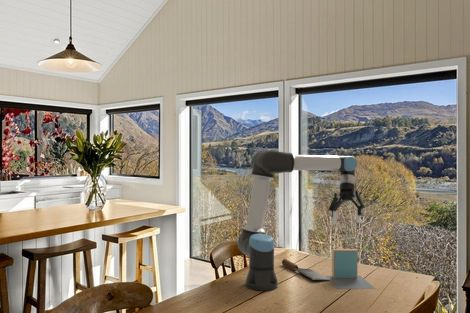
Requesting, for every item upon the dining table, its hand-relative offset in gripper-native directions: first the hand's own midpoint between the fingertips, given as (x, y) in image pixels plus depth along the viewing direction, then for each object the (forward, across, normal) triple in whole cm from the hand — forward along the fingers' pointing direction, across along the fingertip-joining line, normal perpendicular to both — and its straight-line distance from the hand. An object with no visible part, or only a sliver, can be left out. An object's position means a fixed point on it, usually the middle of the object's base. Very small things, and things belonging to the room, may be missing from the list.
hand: (345, 222), depth 203 cm
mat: (+30, -4, +1) cm, 30 cm away
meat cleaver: (+27, +21, +4) cm, 34 cm away
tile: (+27, +2, -3) cm, 27 cm away
